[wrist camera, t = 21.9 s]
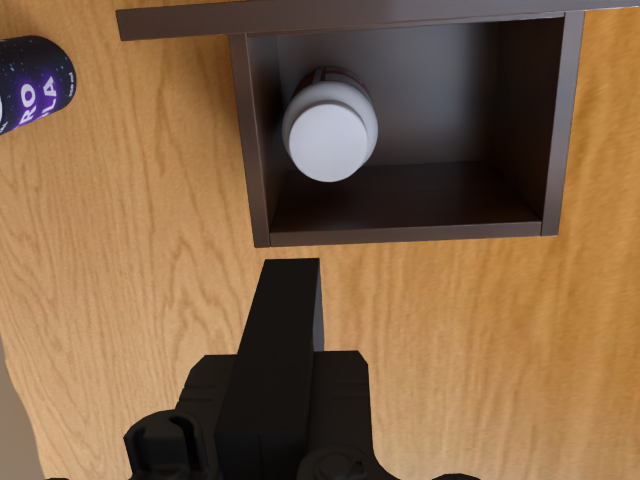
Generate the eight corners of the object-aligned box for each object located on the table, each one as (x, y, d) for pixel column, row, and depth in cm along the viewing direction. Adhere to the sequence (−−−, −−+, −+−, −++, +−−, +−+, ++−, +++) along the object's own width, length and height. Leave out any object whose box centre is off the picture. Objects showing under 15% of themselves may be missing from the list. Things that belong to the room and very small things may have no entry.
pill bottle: (306, 157, 44) (295, 207, 34) (279, 81, 42) (258, 111, 32) (382, 133, 43) (393, 177, 33) (359, 53, 41) (363, 75, 31)
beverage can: (18, 110, 44) (-88, 150, 34) (0, 35, 42) (-121, 51, 31) (88, 109, 44) (3, 149, 33) (73, 34, 42) (-23, 50, 31)
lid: (815, -5, 14) (825, -41, 14) (120, 41, 15) (114, 10, 15) (590, 2, 27) (592, -16, 27) (224, 27, 28) (222, 10, 28)
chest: (500, 168, 45) (558, 236, 32) (278, 178, 46) (254, 248, 34) (512, -8, 39) (587, -7, 27) (261, 9, 41) (225, 18, 28)
